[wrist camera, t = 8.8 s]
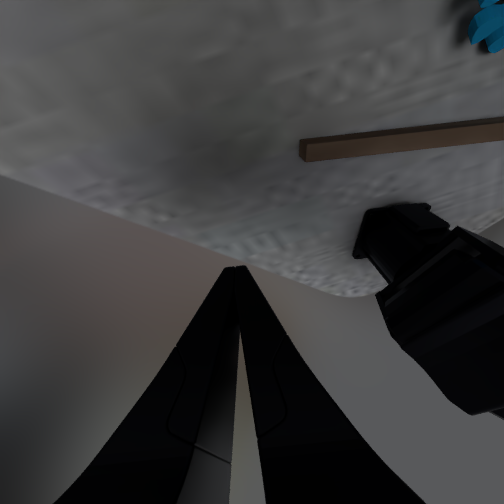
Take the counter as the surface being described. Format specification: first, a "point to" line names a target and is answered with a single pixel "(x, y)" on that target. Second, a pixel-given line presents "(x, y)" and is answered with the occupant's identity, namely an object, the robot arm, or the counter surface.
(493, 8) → the blue irregular piece
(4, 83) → the counter surface
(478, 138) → the guide channel
